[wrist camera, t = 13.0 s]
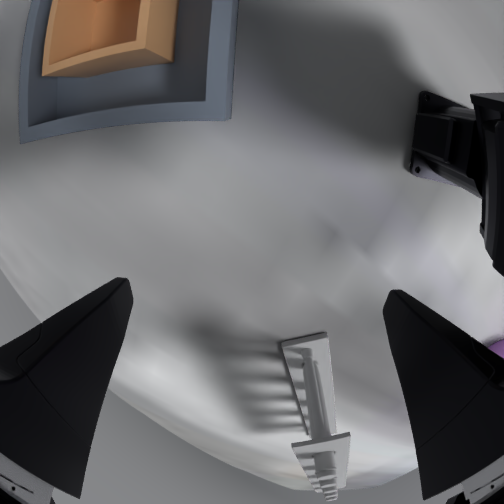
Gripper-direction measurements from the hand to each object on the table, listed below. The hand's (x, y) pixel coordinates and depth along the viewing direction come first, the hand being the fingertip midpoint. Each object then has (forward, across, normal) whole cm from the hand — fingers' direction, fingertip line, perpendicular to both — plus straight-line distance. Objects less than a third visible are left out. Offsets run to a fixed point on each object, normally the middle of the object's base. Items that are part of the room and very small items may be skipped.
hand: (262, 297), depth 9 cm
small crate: (+10, +9, -12) cm, 18 cm away
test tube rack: (+11, -9, +25) cm, 29 cm away
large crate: (+11, +9, -12) cm, 19 cm away
